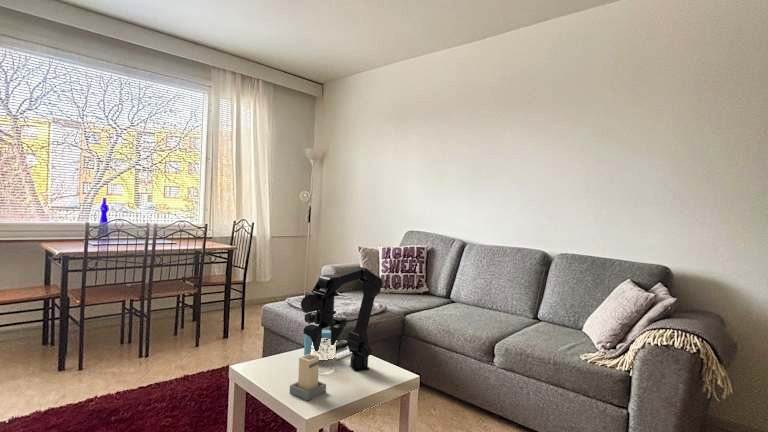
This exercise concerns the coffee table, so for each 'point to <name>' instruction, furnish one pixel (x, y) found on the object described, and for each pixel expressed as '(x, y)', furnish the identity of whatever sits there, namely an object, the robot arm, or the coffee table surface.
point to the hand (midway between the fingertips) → (324, 348)
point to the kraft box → (308, 372)
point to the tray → (305, 394)
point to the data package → (309, 342)
